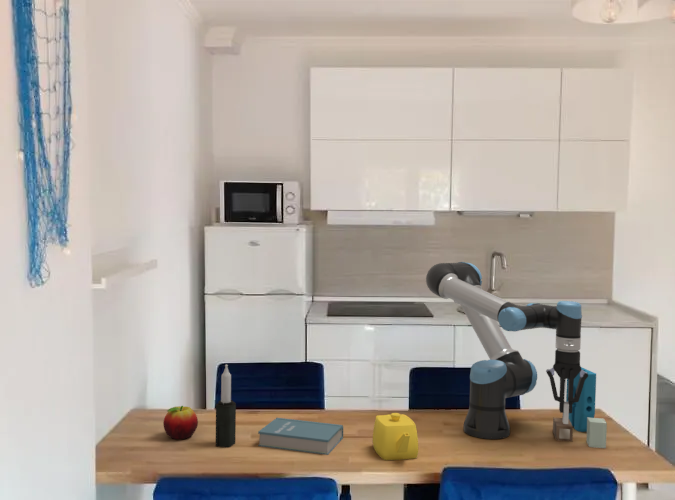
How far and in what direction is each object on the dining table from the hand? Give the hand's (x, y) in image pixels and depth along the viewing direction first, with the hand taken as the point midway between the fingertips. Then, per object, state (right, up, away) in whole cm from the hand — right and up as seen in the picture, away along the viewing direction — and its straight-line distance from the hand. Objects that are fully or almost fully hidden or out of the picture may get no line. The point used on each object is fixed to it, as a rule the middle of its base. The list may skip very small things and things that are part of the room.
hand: (565, 422), depth 209 cm
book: (-85, -6, -4) cm, 85 cm away
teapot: (-56, -6, -12) cm, 57 cm away
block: (+10, -6, +16) cm, 20 cm away
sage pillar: (+9, -7, -2) cm, 12 cm away
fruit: (-123, -4, -1) cm, 124 cm away
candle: (-108, -5, -7) cm, 108 cm away
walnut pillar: (0, -4, +2) cm, 4 cm away
